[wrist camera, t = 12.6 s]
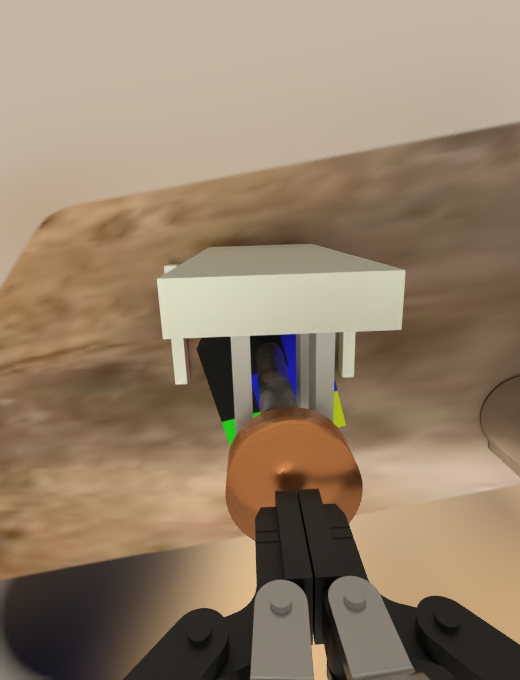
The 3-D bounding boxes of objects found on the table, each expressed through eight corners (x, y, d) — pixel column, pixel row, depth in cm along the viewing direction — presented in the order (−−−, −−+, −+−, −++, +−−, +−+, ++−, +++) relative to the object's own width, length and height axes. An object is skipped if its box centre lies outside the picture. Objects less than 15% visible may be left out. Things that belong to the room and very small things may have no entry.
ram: (302, 384, 30) (359, 546, 15) (237, 387, 30) (229, 553, 15) (302, 321, 29) (365, 429, 14) (234, 324, 29) (221, 435, 14)
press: (348, 370, 43) (468, 538, 20) (178, 377, 42) (99, 557, 19) (353, 242, 39) (507, 266, 16) (166, 248, 39) (49, 282, 16)
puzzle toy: (301, 293, 40) (318, 314, 31) (323, 380, 43) (345, 425, 34) (208, 320, 41) (196, 349, 31) (236, 405, 44) (233, 455, 34)
